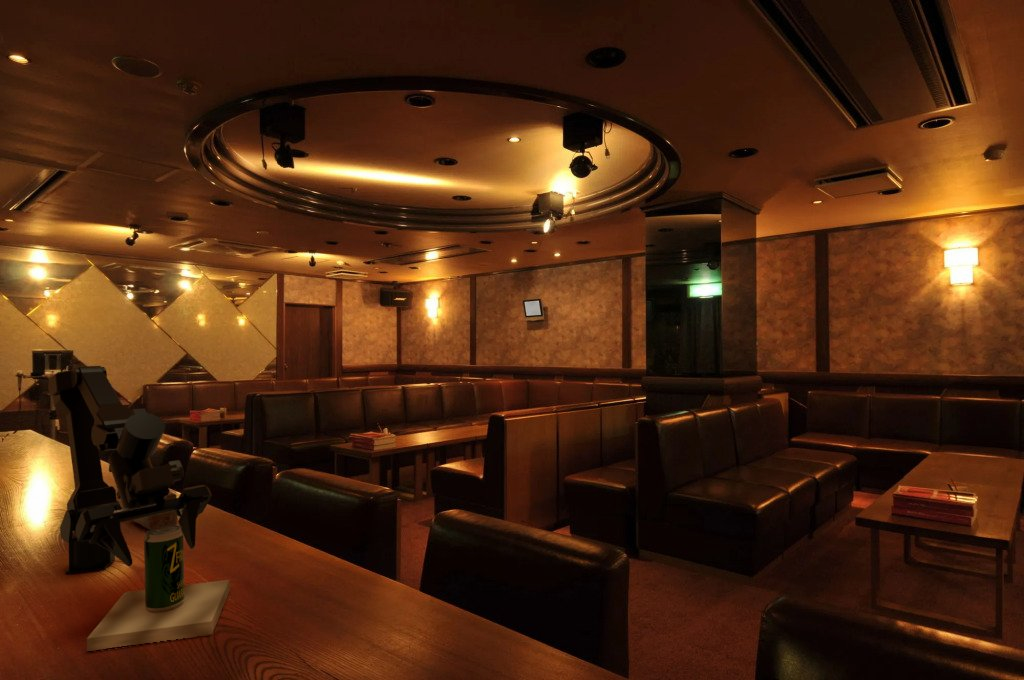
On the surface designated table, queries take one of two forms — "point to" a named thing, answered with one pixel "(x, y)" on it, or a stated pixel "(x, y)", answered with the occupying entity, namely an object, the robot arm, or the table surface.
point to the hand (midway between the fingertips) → (163, 555)
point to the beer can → (164, 568)
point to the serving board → (161, 617)
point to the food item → (159, 517)
